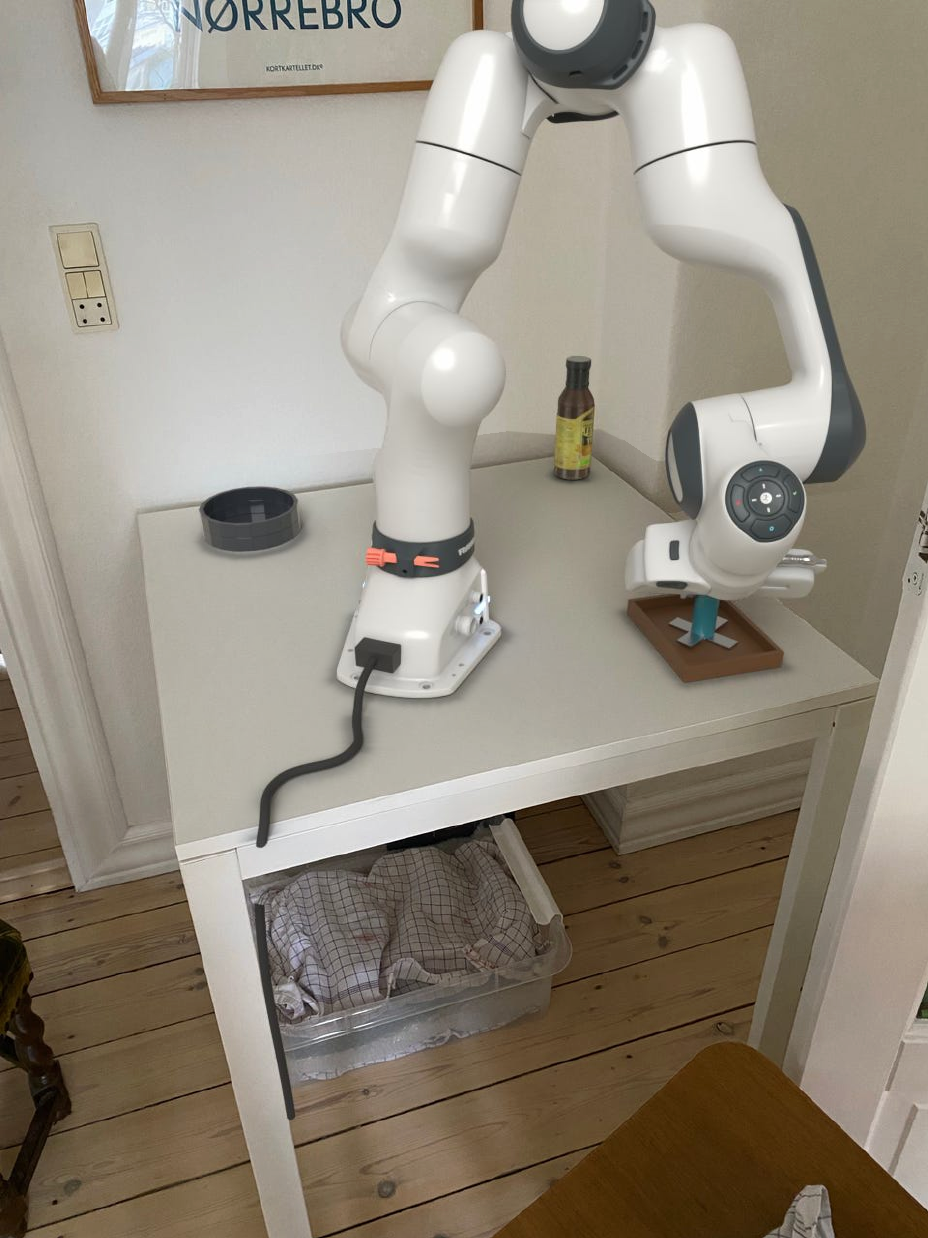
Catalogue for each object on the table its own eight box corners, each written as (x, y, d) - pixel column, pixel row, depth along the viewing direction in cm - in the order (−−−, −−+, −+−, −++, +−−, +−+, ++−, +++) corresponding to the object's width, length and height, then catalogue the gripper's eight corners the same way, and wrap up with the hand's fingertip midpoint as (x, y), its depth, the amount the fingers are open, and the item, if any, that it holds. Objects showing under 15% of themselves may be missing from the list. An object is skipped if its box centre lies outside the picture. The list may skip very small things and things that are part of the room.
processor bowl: (277, 560, 131) (273, 528, 128) (186, 550, 134) (181, 519, 131) (315, 520, 143) (312, 490, 140) (231, 512, 146) (227, 482, 143)
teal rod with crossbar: (653, 635, 111) (662, 556, 106) (691, 610, 116) (701, 534, 111) (714, 661, 106) (727, 580, 101) (751, 634, 111) (765, 555, 106)
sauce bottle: (586, 483, 155) (593, 364, 145) (550, 479, 156) (554, 362, 146) (593, 470, 160) (601, 354, 150) (558, 466, 162) (563, 352, 152)
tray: (781, 667, 106) (784, 651, 105) (684, 683, 103) (686, 667, 102) (713, 601, 119) (716, 587, 118) (626, 613, 117) (627, 599, 116)
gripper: (831, 530, 95) (795, 570, 109) (632, 524, 97) (620, 564, 111) (834, 588, 94) (797, 622, 107) (631, 581, 96) (619, 615, 109)
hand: (706, 593), depth 109 cm, fingers open, 3 cm apart
